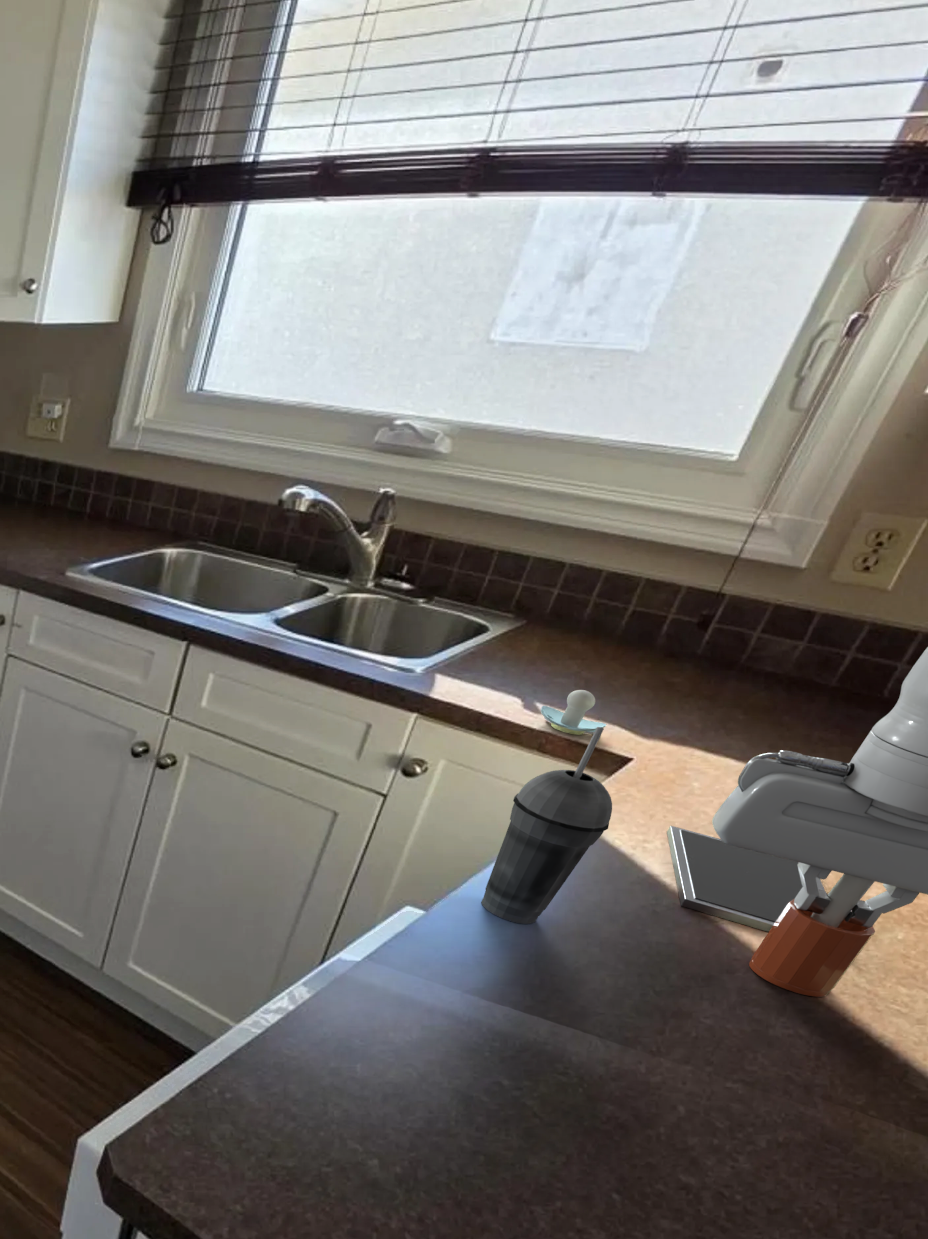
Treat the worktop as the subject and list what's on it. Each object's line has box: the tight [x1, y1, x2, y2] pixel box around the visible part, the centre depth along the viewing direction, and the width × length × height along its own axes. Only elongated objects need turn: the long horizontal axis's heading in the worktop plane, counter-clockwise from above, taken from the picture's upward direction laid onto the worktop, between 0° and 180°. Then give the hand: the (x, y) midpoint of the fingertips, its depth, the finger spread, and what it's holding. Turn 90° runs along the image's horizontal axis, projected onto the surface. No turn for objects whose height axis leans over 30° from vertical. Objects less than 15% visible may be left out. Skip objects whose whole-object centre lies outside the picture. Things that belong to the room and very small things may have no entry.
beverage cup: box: [481, 727, 613, 925], centre depth 97 cm, size 7×7×20 cm
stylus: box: [810, 873, 875, 928], centre depth 90 cm, size 2×2×14 cm
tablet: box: [666, 825, 826, 933], centre depth 108 cm, size 12×20×1 cm, turn 141°
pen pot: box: [748, 899, 876, 998], centre depth 92 cm, size 5×5×7 cm
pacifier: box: [540, 689, 607, 736], centre depth 143 cm, size 7×6×6 cm
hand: (830, 915), depth 91 cm, fingers closed, pressing on pen pot, stylus
